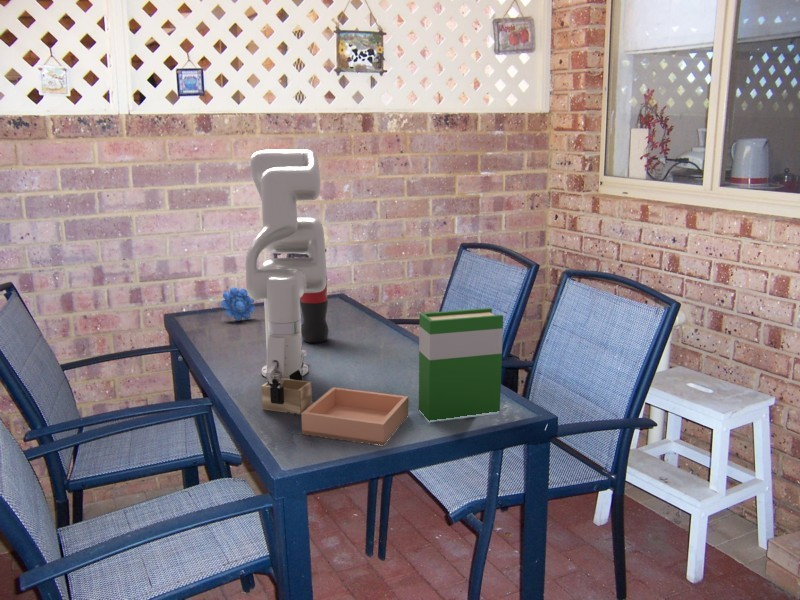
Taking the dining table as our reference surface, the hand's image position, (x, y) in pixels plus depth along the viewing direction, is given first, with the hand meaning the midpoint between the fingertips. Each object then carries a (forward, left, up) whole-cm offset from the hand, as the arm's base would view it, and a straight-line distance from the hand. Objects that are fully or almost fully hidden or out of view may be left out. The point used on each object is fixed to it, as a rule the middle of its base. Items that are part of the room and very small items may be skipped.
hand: (287, 396), depth 176 cm
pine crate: (-1, 0, -3) cm, 3 cm away
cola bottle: (-53, -17, -3) cm, 55 cm away
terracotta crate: (+4, +20, -3) cm, 20 cm away
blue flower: (-65, -51, -3) cm, 82 cm away
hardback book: (-11, +40, -3) cm, 41 cm away
